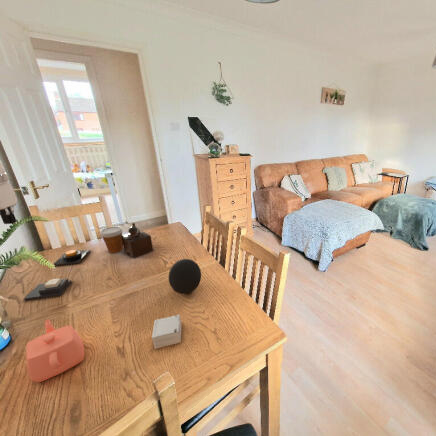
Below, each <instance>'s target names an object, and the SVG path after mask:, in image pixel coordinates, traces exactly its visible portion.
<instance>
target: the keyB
mask: <svg viewBox="0 0 436 436" xmlns="http://www.w3.org/2000/svg"><path fill="white" fill-rule="evenodd" d="M64 253H65V254H66V256H73V255H75V254H77V252H76V249H70V250H67V251H66V252H64Z"/></svg>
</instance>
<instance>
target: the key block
mask: <svg viewBox="0 0 436 436" xmlns="http://www.w3.org/2000/svg"><path fill="white" fill-rule="evenodd" d="M75 250H76V249H75ZM76 252H77V254H75V255H73V256H66V254H65V253H66V252H64V253H62V255H61V256H60V257H59V258H58V259H57V260H56V261H55V262H53V264H54V265H55V266H54V267H62V266H72V265H73V266H74V265H80V264H81V263H82V262H83V261H84V259H85V258H87V256H88V255H89V254H90V253H91V250H90V249H84V250H78V249H77V250H76Z"/></svg>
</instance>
